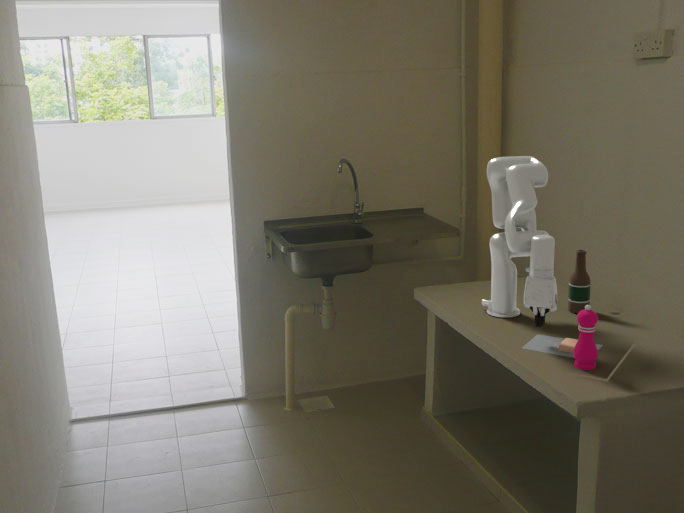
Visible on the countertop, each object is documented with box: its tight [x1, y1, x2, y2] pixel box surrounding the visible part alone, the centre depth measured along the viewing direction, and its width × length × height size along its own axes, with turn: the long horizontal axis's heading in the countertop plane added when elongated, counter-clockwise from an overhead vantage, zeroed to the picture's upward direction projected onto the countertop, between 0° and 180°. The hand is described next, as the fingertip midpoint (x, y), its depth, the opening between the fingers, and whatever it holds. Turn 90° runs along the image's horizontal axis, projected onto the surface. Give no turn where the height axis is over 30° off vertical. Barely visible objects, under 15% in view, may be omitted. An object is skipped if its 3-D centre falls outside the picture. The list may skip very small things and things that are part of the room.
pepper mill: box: [573, 304, 599, 371], centre depth 209 cm, size 7×7×20 cm
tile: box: [559, 337, 579, 353], centre depth 225 cm, size 2×8×9 cm
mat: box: [521, 333, 604, 359], centre depth 228 cm, size 22×16×1 cm
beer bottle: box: [567, 249, 591, 315], centre depth 264 cm, size 8×8×24 cm
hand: (539, 325), depth 231 cm, fingers closed
